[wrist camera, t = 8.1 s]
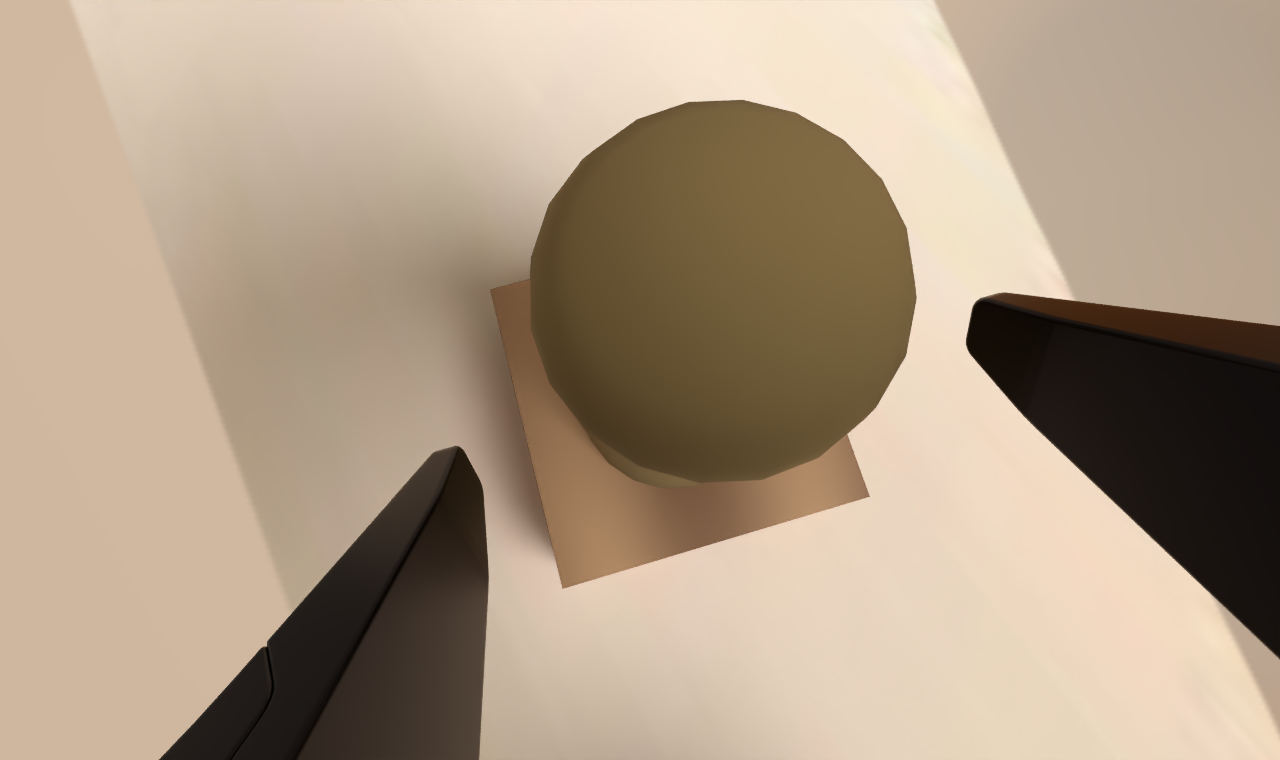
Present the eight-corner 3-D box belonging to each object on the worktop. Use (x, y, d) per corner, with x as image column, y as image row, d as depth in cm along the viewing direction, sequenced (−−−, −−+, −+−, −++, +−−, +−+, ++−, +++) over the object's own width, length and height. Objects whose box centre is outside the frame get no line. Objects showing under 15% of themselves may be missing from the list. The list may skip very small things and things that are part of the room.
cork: (721, 520, 16) (909, 639, 5) (548, 440, 16) (356, 380, 5) (791, 349, 17) (1081, 122, 6) (626, 279, 17) (602, -58, 6)
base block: (749, 252, 20) (768, 215, 17) (833, 492, 19) (869, 496, 16) (512, 316, 20) (490, 289, 17) (575, 569, 18) (562, 588, 15)
